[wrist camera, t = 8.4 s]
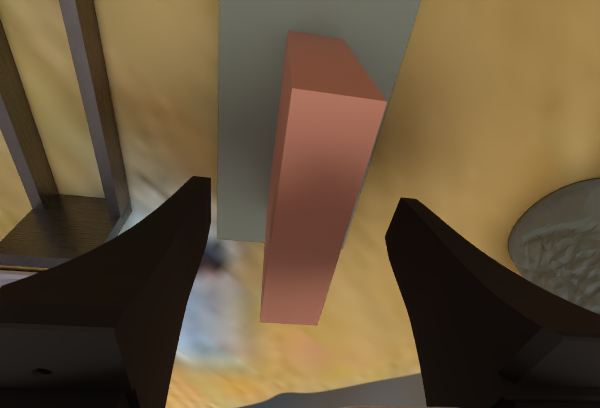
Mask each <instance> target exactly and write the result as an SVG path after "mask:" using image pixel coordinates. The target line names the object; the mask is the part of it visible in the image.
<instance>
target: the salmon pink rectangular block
mask: <svg viewBox="0 0 600 408" xmlns="http://www.w3.org/2000/svg"><path fill="white" fill-rule="evenodd" d="M386 104H387V101H386V99H385V98H384V96H383V95H382V94H381V92H380V91H379V89H378V88H377V87H376V85H375V84H374V82H373V81H372V80H371V78H370V77H369V75H368V74H367V73H366V71H365V70H364V68H363V67H362V66H361V64H360V63H359V61H358V60H357V59H356V57H355V56H354V54H353V53H352V51H351V50H350V49H349V47H348V46H347V44H346V43H345V42H344V40H343V39H338V38H332V37H325V36H319V35H313V34H307V33H301V32H295V31H288V35H287V43H286V52H285V60H284V68H283V77H282V85H281V94H280V102H279V111H278V119H277V128H276V136H275V144H274V153H273V161H272V170H271V178H270V187H269V195H268V203H267V215H266V231H265V247H264V264H263V280H262V296H261V312H260V322H263V323H281V324H300V325H318V322H319V318H320V315H321V312H322V309H323V306H324V302H325V299H326V296H327V293H328V290H329V286H330V283H331V280H332V277H333V274H334V270H335V267H336V264H337V261H338V258H339V254H340V251H341V248H342V245H343V242H344V238H345V235H346V232H347V229H348V226H349V222H350V219H351V216H352V213H353V210H354V206H355V203H356V200H357V197H358V194H359V190H360V187H361V184H362V181H363V178H364V174H365V171H366V168H367V165H368V162H369V158H370V155H371V152H372V149H373V146H374V142H375V139H376V136H377V133H378V130H379V126H380V123H381V120H382V117H383V114H384V110H385V107H386Z"/></svg>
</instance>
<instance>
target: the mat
mask: <svg viewBox="0 0 600 408" xmlns="http://www.w3.org/2000/svg"><path fill="white" fill-rule="evenodd" d="M420 3H421V0H219V89H218V207H217V239H224V240H236V241H248V242H260V243H265V231H266V215H267V203H268V195H269V187H270V178H271V170H272V161H273V153H274V144H275V136H276V128H277V119H278V111H279V102H280V94H281V85H282V77H283V68H284V60H285V52H286V43H287V35H288V31H295V32H301V33H307V34H313V35H319V36H325V37H332V38H338V39H343V40H344V42H345V43H346V44H347V46H348V47H349V49H350V50H351V51H352V53H353V54H354V56H355V57H356V59H357V60H358V61H359V63H360V64H361V66H362V67H363V68H364V70H365V71H366V73H367V74H368V75H369V77H370V78H371V80H372V81H373V82H374V84H375V85H376V87H377V88H378V89H379V91H380V92H381V94H382V95H383V96H384V98H385V99H386V101H387V104H386V107H385V110H384V114H383V117H382V120H381V123H380V126H379V130H378V133H377V136H376V139H375V142H374V146H373V149H372V152H371V155H370V158H369V162H368V165H367V168H366V171H365V174H364V178H363V181H362V184H361V187H360V190H359V194H358V197H357V200H356V203H355V206H354V210H353V213H352V216H351V219H350V222H349V226H348V229H347V232H346V235H345V238H344V242H343V245H342V248H341V249H343V247H344V243H345V240H346V237H347V234H348V231H349V228H350V224H351V221H352V218H353V215H354V212H355V209H356V205H357V202H358V199H359V196H360V193H361V190H362V186H363V183H364V180H365V177H366V174H367V171H368V167H369V164H370V161H371V158H372V155H373V152H374V148H375V145H376V142H377V139H378V136H379V133H380V129H381V126H382V123H383V120H384V117H385V114H386V110H387V107H388V104H389V101H390V98H391V95H392V91H393V88H394V85H395V82H396V79H397V76H398V72H399V69H400V66H401V63H402V60H403V57H404V53H405V50H406V47H407V44H408V41H409V38H410V34H411V31H412V28H413V25H414V22H415V19H416V15H417V12H418V9H419V6H420Z"/></svg>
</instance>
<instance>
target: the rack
mask: <svg viewBox="0 0 600 408" xmlns="http://www.w3.org/2000/svg"><path fill="white" fill-rule="evenodd" d="M59 3H60V7H61V11H62V15H63V20H64V24H65V28H66V32H67V37H68V41H69V45H70V49H71V54H72V58H73V62H74V66H75V71H76V75H77V79H78V83H79V88H80V92H81V96H82V100H83V105H84V109H85V113H86V117H87V122H88V126H89V130H90V134H91V139H92V143H93V147H94V151H95V156H96V160H97V164H98V168H99V172H100V177H101V181H102V185H103V189H104V194H105V198H106V199H100V198H90V197H79V196H68V195H58V192H57V189H56V186H55V183H54V180H53V177H52V174H51V171H50V168H49V165H48V162H47V159H46V156H45V153H44V150H43V147H42V144H41V141H40V138H39V135H38V132H37V129H36V126H35V123H34V120H33V117H32V114H31V111H30V108H29V105H28V102H27V99H26V96H25V93H24V90H23V87H22V84H21V81H20V78H19V75H18V72H17V69H16V66H15V63H14V60H13V57H12V54H11V51H10V48H9V45H8V42H7V39H6V36H5V33H4V30H3V28H2V25H1V22H0V129H1V131H2V134H3V136H4V139H5V141H6V144H7V146H8V149H9V151H10V154H11V156H12V158H13V161H14V163H15V166H16V168H17V171H18V173H19V176H20V178H21V181H22V183H23V186H24V188H25V191H26V193H27V196H28V198H29V201H30V203H31V206H32V208H33V209H32V210H31V211H30V212H29V213H28V214H27V215H26V216H25V217H24V218H23V219H22V220H21V221H20V222H19V223H18V224H17V225H16V226H15V227H14V228H13V229H12V230H11V231H10V232H9V234H8V235H7V236H6V237H5V238H4V239H3V240H2V241H1V242H0V265H8V266H23V267H38V268H53V267H55V266H57V265H60V264H62V263H65V262H67V261H69V260H72V259H74V258H76V257H78V256H80V255H83V254H85V253H87V252H89V251H91V250H93V249H95V248H96V247H98V246H100V245H102V244H104V243H106V242H108V241H110V240H112V239H114V238H115V237H117V236H118V234H119V232H120V231H121V229H122V227H123V226H124V224H125V222H126V220H127V219H128V217H129V215H130V214H131V212H132V210H131V204H130V199H129V193H128V188H127V182H126V177H125V171H124V166H123V161H122V155H121V150H120V144H119V139H118V133H117V128H116V122H115V117H114V111H113V106H112V101H111V95H110V90H109V84H108V79H107V73H106V68H105V62H104V57H103V52H102V46H101V41H100V35H99V30H98V24H97V19H96V13H95V8H94V2H93V0H59Z"/></svg>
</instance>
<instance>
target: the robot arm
mask: <svg viewBox="0 0 600 408" xmlns="http://www.w3.org/2000/svg"><path fill="white" fill-rule="evenodd" d="M210 224H211V178H207V177H197V176H193V177H192V178H190V179H189V180H188V181H187V182H186V183H185V184H184V185H183V186H182V187H181V188H180V189H179V190H178V191H177V192H175V193H174V194H173V195H172V196H171V197H170V198H169V199H168V200H166V201H165V202H164V203H163V204H162V205H161V206H160V207H158V208H157V209H156V210H155V211H153V212H152V213H151V214H149V215H148V216H147V217H145V218H144V219H143V220H142V221H140V222H139V223H137V224H136V225H134V226H133V227H132V228H130V229H128V230H127V231H125V232H124V233H122V234H120V235H119V236H117V237H115V238H114V239H112V240H110V241H108V242H106V243H104V244H102V245H100V246H98V247H96V248H95V249H93V250H91V251H89V252H87V253H85V254H83V255H80V256H78V257H76V258H74V259H72V260H69V261H67V262H65V263H62V264H60V265H57V266H55V267H53V268H50V269H48V270H45V271H42V272H39V273H37V272H22V271H7V270H0V408H165V406H166V400H167V395H168V390H169V385H170V380H171V374H172V369H173V364H174V359H175V355H176V350H177V345H178V341H179V336H180V331H181V327H182V322H183V318H184V313H185V309H186V305H187V302H188V298H189V295H190V292H191V289H192V286H193V283H194V280H195V277H196V274H197V271H198V268H199V265H200V263H201V260H202V257H203V254H204V251H205V247H206V244H207V239H208V234H209V229H210ZM385 240H386V246H387V251H388V256H389V260H390V263H391V266H392V269H393V272H394V275H395V278H396V281H397V283H398V286H399V289H400V292H401V294H402V297H403V300H404V303H405V306H406V308H407V312H408V315H409V318H410V322H411V326H412V331H413V335H414V339H415V343H416V348H417V353H418V358H419V363H420V368H421V374H422V379H423V385H424V390H425V397H426V404H427V407H409V406H350V407H339V408H600V314H597V313H595V312H592V311H590V310H588V309H585V308H583V307H580V306H578V305H576V304H574V303H571V302H569V301H567V300H565V299H563V298H561V297H559V296H557V295H555V294H553V293H551V292H549V291H547V290H545V289H543V288H541V287H539V286H537V285H535V284H533V283H532V282H530V281H528V280H526V279H525V278H523V277H521V276H519V275H517V274H516V273H514V272H512V271H511V270H509V269H507V268H506V267H504V266H503V265H501V264H500V263H498V262H497V261H495V260H494V259H492V258H490V257H489V256H488V255H486V254H485V253H483V252H482V251H480V250H479V249H478V248H476V247H475V246H474V245H472V244H471V243H470V242H468V241H467V240H466V239H465V238H463V237H462V236H461V235H460V234H458V233H457V232H456V231H455V230H453V229H452V228H451V227H450V226H449V225H447V224H446V223H445V222H444V221H443V220H441V219H440V218H439V217H438V216H437V215H436V214H434V213H433V212H432V211H431V210H430V209H428V208H427V207H426V206H425V205H423V204H422V203H421V202H419V201H418V200H417V199H411V198H400V201H399V203H398V206H397V208H396V211H395V213H394V216H393V218H392V221H391V223H390V225H389V228H388V230H387V233H386V235H385Z"/></svg>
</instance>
